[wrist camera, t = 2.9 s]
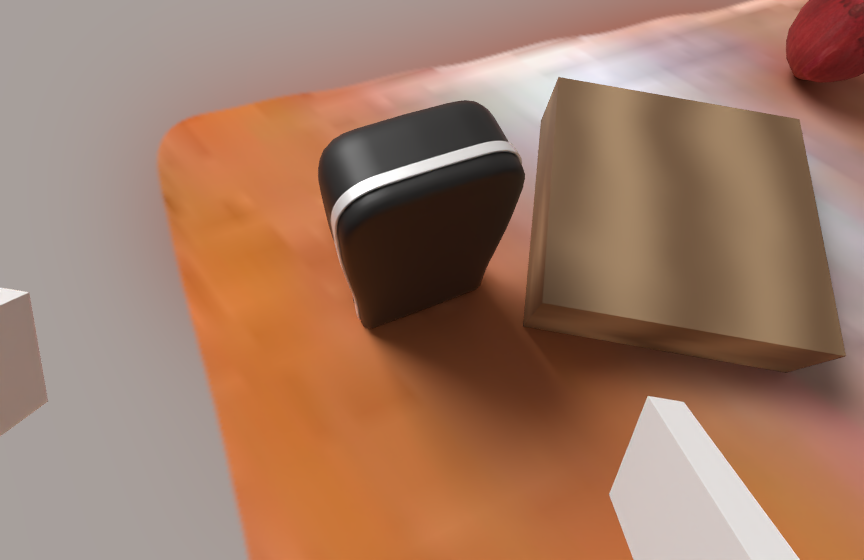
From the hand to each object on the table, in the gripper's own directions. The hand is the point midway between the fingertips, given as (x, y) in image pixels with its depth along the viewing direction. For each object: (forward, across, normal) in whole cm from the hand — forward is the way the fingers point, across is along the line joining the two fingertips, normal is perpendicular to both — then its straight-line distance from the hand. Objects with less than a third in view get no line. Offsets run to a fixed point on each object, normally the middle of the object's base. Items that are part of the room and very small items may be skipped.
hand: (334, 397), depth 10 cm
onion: (+29, +25, +11) cm, 40 cm away
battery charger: (+15, +1, -3) cm, 15 cm away
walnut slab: (+19, +14, 0) cm, 24 cm away
